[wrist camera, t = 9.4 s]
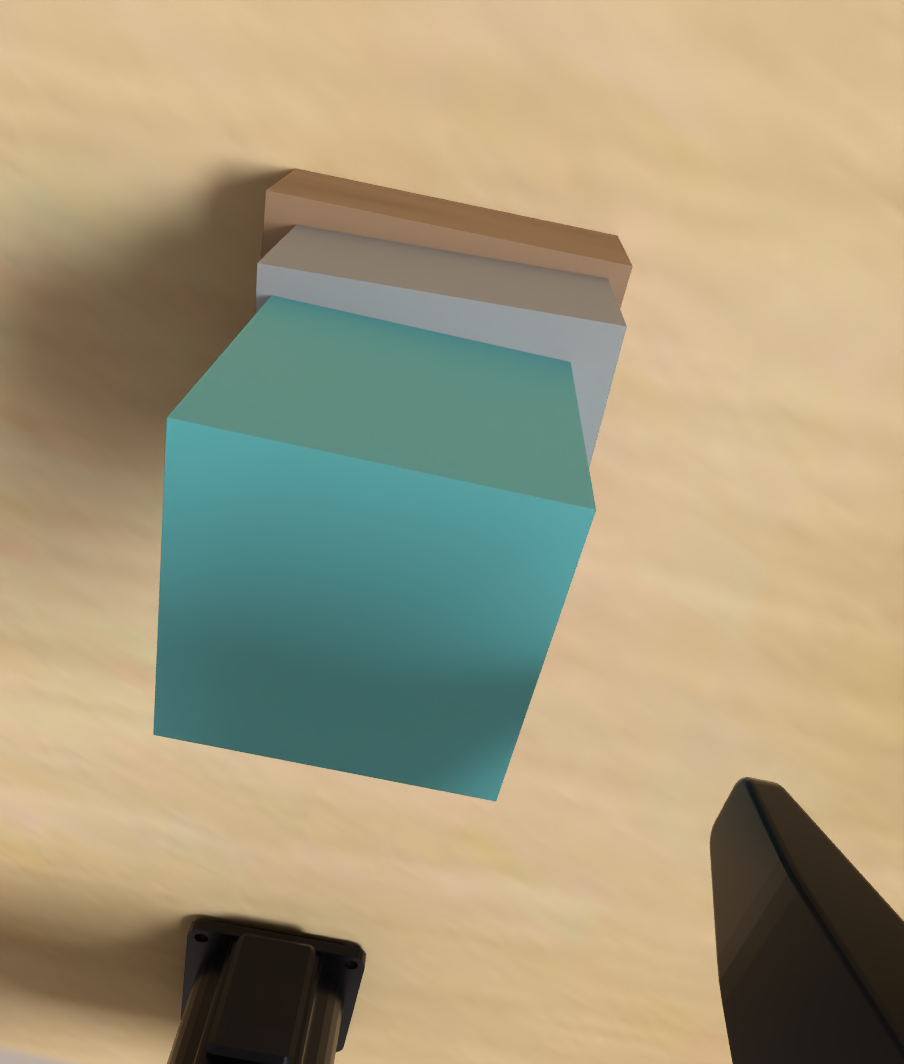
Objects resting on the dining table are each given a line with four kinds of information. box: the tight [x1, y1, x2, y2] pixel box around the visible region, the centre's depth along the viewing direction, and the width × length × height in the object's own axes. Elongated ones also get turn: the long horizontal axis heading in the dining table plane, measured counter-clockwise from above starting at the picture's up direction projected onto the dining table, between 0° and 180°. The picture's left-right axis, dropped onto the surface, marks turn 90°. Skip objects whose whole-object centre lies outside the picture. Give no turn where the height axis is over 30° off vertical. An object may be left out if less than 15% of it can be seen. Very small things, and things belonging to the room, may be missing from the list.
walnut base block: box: [261, 169, 632, 308], centre depth 19 cm, size 7×7×3 cm
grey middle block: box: [255, 225, 627, 466], centre depth 17 cm, size 6×6×3 cm
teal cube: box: [153, 295, 596, 801], centre depth 13 cm, size 5×5×5 cm
